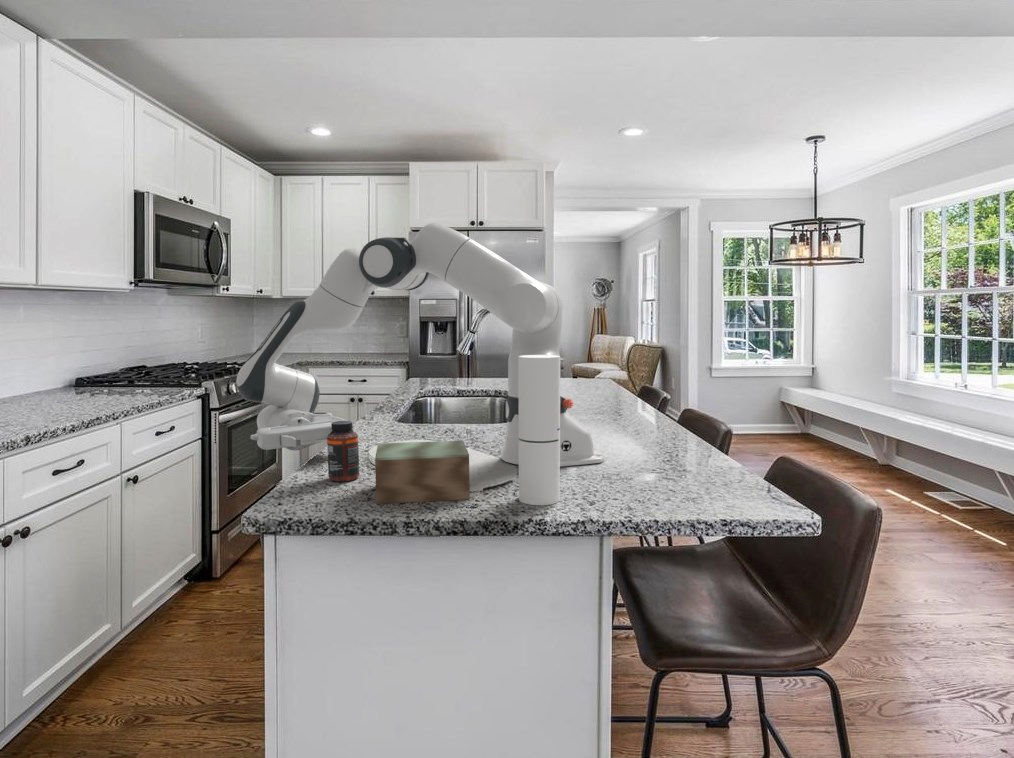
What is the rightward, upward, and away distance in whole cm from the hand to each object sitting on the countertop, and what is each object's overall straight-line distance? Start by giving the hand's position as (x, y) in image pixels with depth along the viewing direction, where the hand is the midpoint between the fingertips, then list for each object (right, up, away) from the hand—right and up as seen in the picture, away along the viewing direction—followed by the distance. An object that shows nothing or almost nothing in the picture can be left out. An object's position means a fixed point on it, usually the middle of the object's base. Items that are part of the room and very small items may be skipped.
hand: (319, 439), depth 134 cm
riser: (+24, -8, -18) cm, 31 cm away
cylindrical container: (+45, -8, -23) cm, 51 cm away
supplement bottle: (+7, -7, -9) cm, 13 cm away
